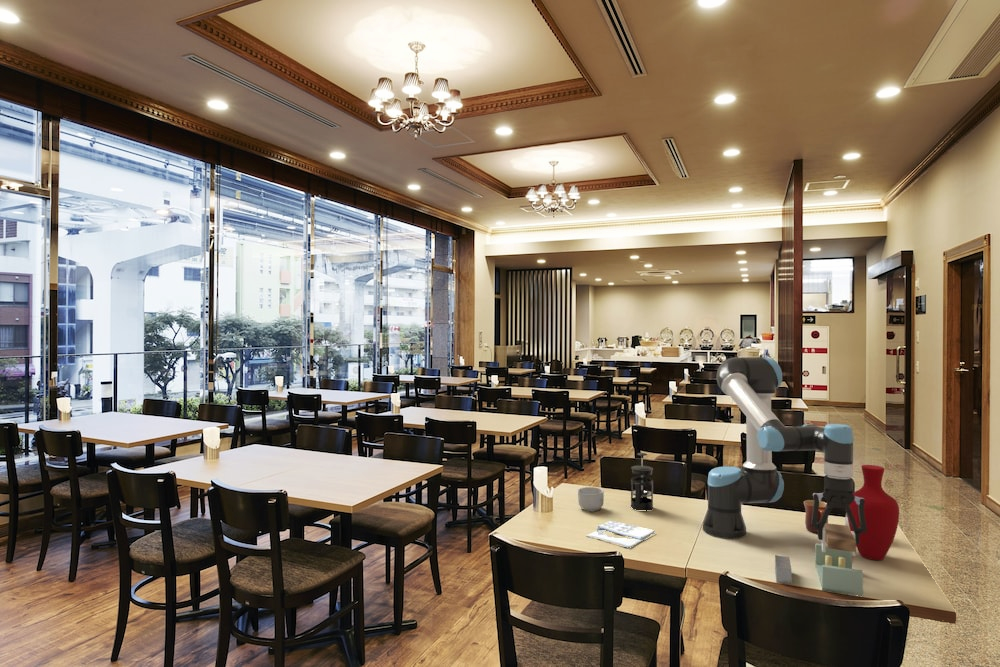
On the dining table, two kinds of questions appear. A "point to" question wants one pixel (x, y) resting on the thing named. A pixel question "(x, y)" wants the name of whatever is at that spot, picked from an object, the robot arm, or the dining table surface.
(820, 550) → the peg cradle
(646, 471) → the french press
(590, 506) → the teacup
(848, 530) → the board
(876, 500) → the vase
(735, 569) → the dining table surface
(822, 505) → the mug
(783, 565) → the block
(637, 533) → the folded cloth napkin
